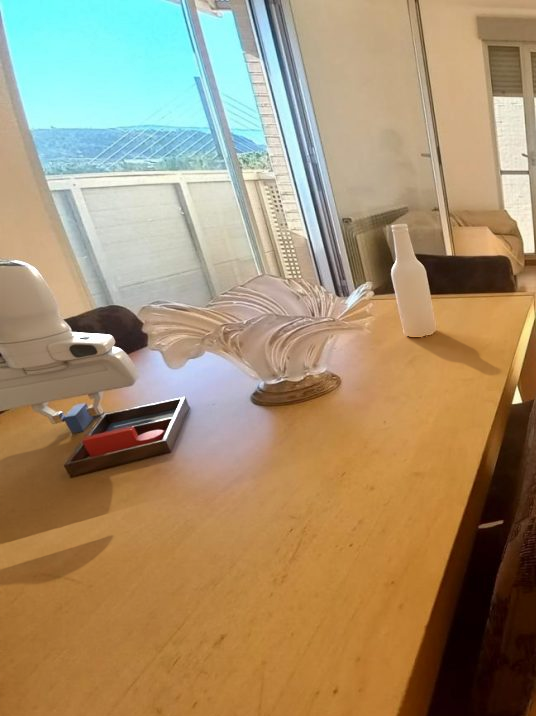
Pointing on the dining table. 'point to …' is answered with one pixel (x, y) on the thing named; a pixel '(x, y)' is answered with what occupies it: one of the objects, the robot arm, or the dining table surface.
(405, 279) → the alcohol
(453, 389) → the dining table surface
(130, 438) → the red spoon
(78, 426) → the blue toy piece
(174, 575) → the dining table surface
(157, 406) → the tray
